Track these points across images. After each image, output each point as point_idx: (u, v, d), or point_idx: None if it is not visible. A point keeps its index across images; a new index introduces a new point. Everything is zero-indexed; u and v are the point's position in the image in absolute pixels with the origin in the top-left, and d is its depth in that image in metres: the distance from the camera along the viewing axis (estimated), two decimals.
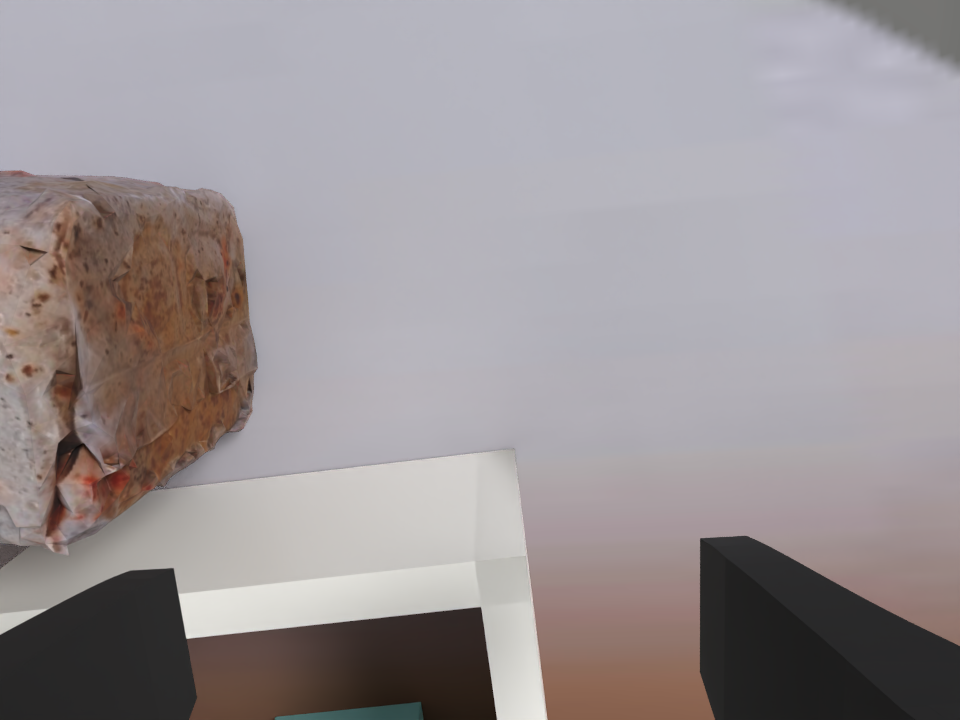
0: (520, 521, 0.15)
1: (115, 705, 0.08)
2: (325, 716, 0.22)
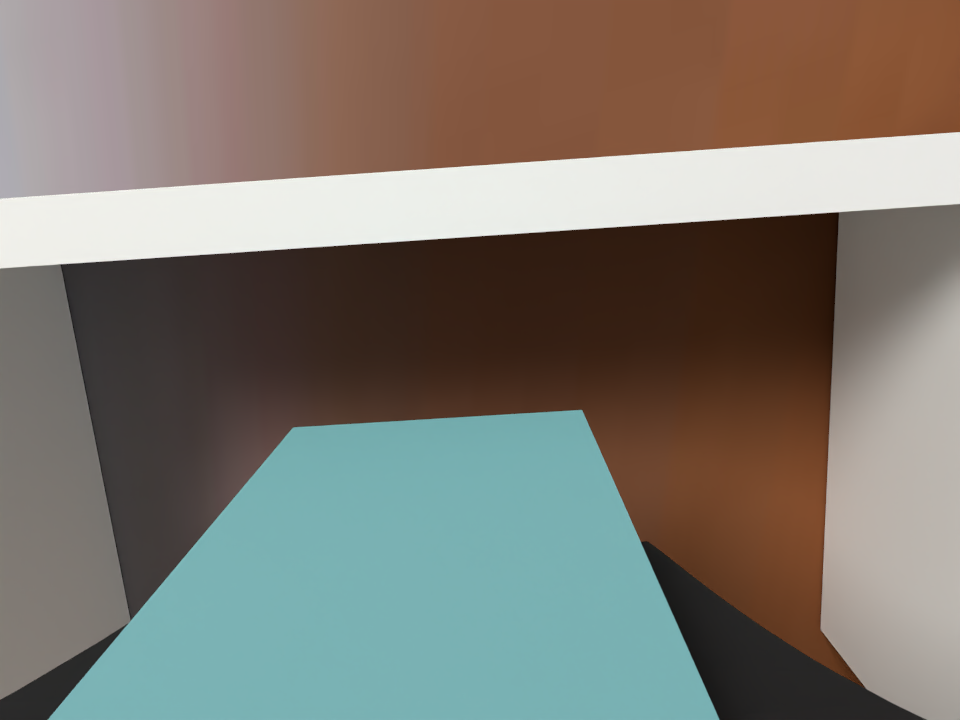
0: None
1: None
2: None
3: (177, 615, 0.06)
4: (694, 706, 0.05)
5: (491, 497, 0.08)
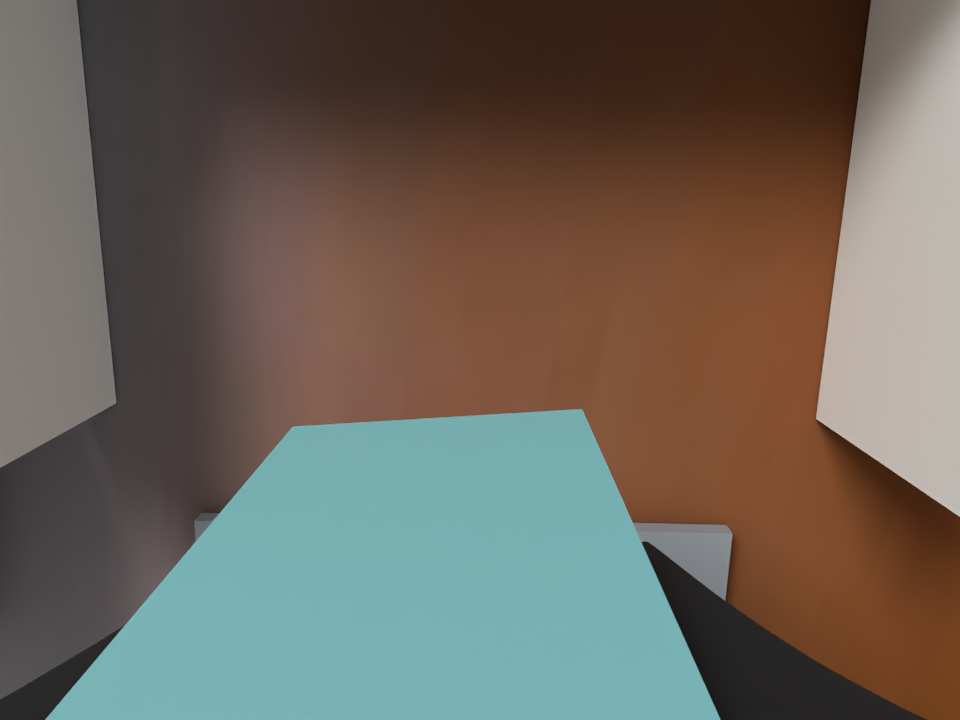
0: None
1: None
2: None
3: (176, 614, 0.06)
4: (694, 705, 0.05)
5: (491, 497, 0.08)
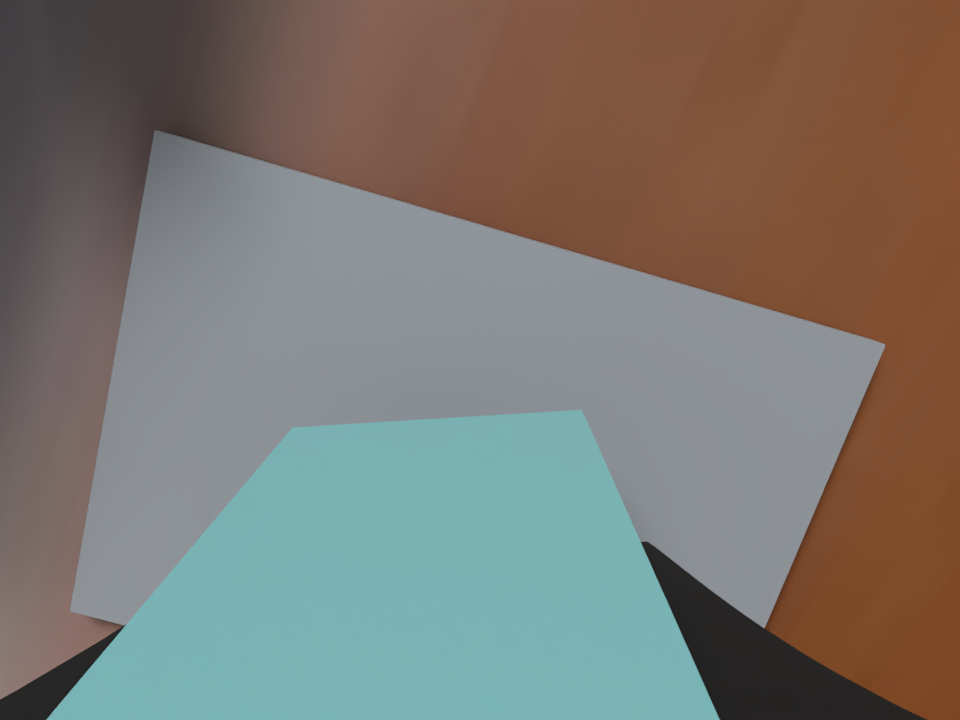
0: None
1: None
2: None
3: (176, 615, 0.06)
4: (694, 707, 0.05)
5: (490, 497, 0.08)
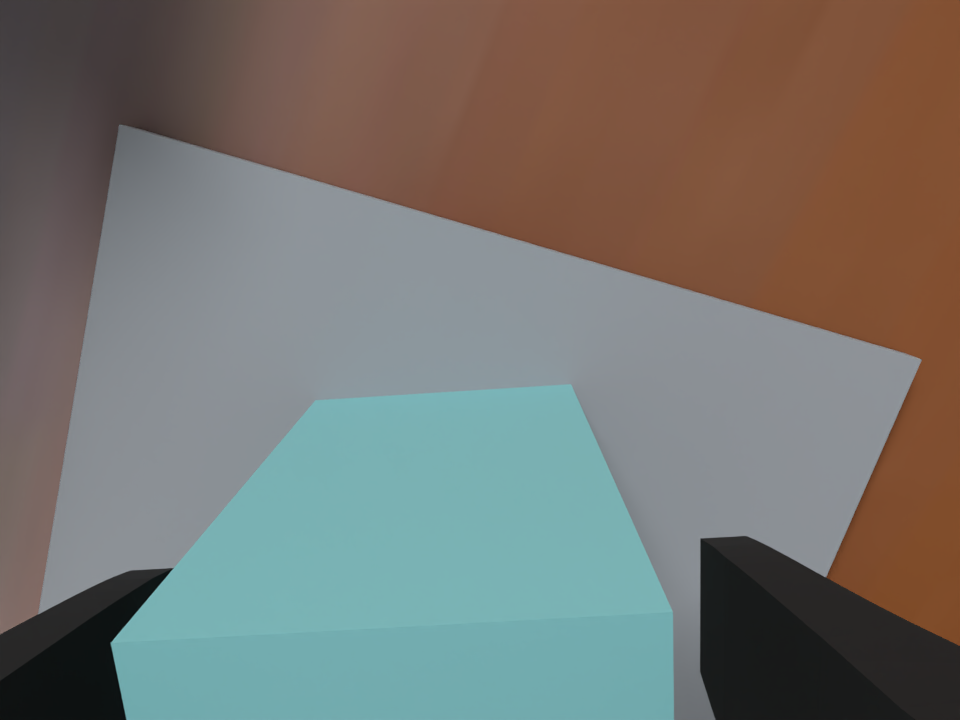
0: None
1: (115, 705, 0.08)
2: None
3: (236, 534, 0.08)
4: (645, 583, 0.06)
5: (491, 450, 0.09)
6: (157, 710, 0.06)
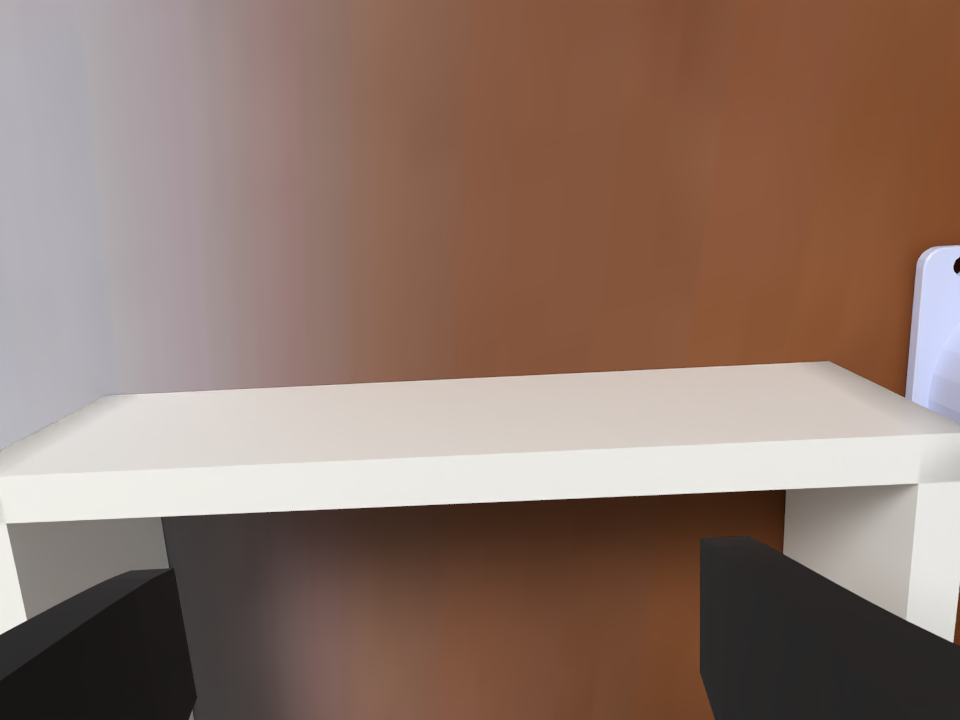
0: None
1: (115, 705, 0.08)
2: None
3: None
4: None
5: None
6: None
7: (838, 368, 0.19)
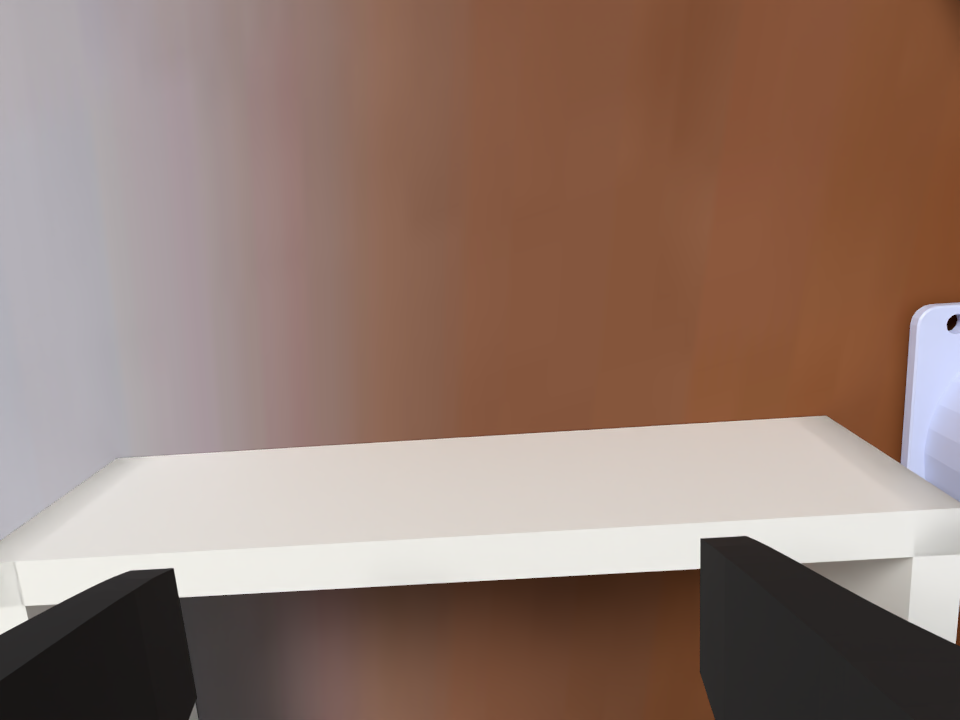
0: (14, 532, 0.16)
1: (116, 705, 0.08)
2: None
3: None
4: None
5: None
6: None
7: (835, 424, 0.19)
